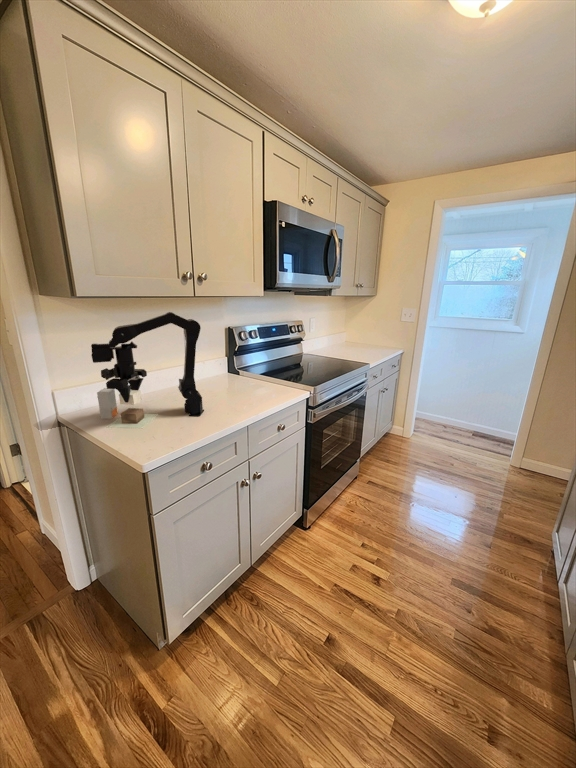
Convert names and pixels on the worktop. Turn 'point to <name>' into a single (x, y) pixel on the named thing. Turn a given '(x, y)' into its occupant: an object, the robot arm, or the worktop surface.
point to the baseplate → (141, 424)
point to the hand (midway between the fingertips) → (130, 399)
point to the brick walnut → (132, 415)
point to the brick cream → (131, 398)
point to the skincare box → (107, 403)
